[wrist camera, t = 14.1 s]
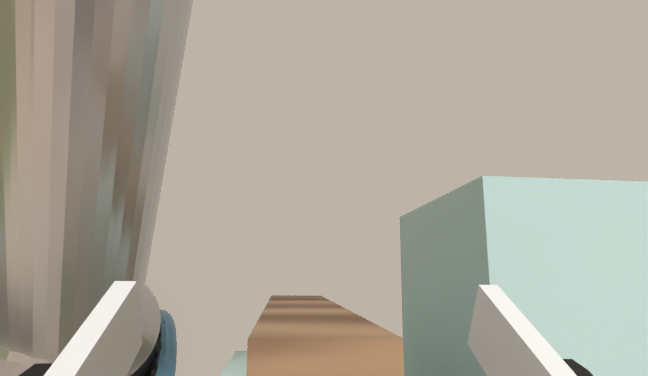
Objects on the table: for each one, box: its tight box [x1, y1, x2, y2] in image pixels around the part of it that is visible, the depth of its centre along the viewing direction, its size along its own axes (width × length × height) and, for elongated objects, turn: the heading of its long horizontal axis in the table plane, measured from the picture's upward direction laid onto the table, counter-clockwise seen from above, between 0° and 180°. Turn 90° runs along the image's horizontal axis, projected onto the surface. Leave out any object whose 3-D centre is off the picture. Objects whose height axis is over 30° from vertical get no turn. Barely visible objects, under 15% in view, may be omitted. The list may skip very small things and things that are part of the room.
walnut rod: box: [246, 296, 404, 376], centre depth 22 cm, size 24×4×4 cm, turn 5°
